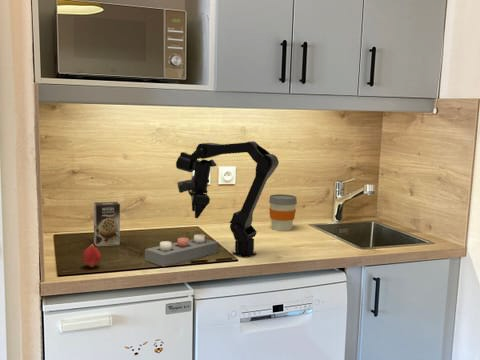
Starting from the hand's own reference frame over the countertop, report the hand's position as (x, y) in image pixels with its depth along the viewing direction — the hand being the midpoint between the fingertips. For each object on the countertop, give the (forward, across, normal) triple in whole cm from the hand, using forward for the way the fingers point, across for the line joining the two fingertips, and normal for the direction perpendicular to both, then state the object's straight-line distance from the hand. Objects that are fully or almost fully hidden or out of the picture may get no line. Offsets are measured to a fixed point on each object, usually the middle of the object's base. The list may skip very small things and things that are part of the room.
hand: (194, 214), depth 199 cm
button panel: (+12, +14, -4) cm, 19 cm away
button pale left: (+9, +18, -11) cm, 23 cm away
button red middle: (+9, +14, -5) cm, 17 cm away
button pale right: (+8, +9, +2) cm, 12 cm away
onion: (+16, +24, -35) cm, 45 cm away
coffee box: (+18, -6, -31) cm, 36 cm away
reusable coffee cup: (+10, -26, +45) cm, 53 cm away
